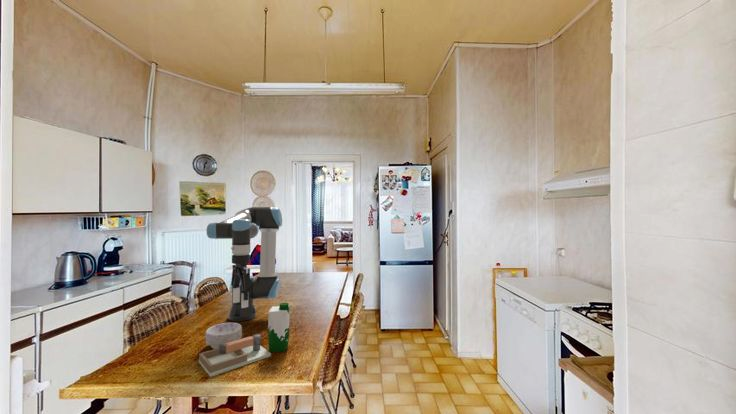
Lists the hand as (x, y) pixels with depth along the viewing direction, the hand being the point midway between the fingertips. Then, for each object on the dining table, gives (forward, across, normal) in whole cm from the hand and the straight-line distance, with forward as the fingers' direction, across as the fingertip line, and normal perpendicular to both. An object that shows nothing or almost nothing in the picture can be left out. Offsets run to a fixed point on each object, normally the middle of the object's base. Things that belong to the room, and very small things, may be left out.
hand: (240, 304), depth 135 cm
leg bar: (+16, +6, -2) cm, 17 cm away
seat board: (+20, +6, -4) cm, 22 cm away
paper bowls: (+21, -11, -3) cm, 24 cm away
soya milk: (+21, +9, +14) cm, 27 cm away
